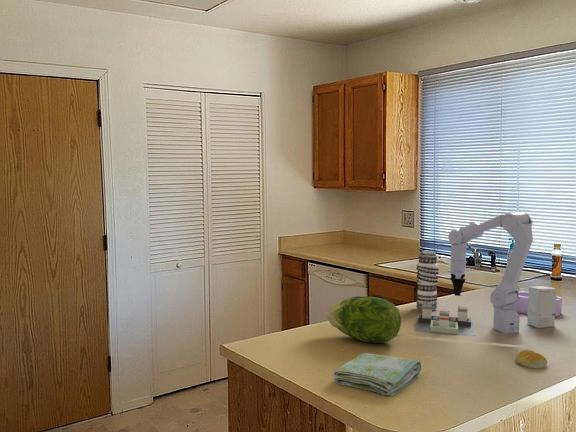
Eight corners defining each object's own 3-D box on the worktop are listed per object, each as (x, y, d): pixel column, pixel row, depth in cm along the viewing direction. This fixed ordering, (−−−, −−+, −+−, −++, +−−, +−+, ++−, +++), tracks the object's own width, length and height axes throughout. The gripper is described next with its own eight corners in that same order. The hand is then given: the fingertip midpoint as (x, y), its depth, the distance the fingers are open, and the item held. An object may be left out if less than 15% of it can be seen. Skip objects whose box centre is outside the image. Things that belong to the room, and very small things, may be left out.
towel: (330, 384, 152) (330, 366, 152) (365, 363, 169) (366, 346, 169) (391, 400, 142) (391, 381, 141) (422, 375, 159) (423, 358, 159)
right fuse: (467, 325, 207) (467, 309, 206) (457, 325, 208) (458, 308, 207) (466, 323, 210) (467, 307, 210) (457, 322, 211) (457, 306, 211)
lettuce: (336, 329, 204) (336, 288, 203) (406, 340, 191) (407, 296, 190) (318, 339, 192) (318, 295, 190) (392, 352, 178) (393, 305, 177)
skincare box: (537, 328, 207) (539, 289, 206) (526, 324, 213) (527, 286, 212) (555, 326, 209) (557, 288, 208) (543, 322, 215) (545, 285, 214)
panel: (474, 338, 194) (475, 330, 194) (413, 333, 200) (414, 326, 200) (472, 324, 212) (472, 317, 212) (416, 319, 218) (417, 313, 218)
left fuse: (431, 323, 211) (431, 307, 210) (422, 322, 212) (422, 306, 211) (431, 320, 214) (431, 305, 213) (422, 320, 215) (422, 304, 214)
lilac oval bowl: (563, 312, 232) (563, 296, 232) (557, 318, 222) (558, 301, 222) (513, 305, 244) (513, 289, 243) (505, 310, 234) (506, 294, 233)
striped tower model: (410, 310, 233) (412, 251, 231) (423, 306, 240) (425, 249, 238) (429, 314, 227) (430, 254, 225) (442, 310, 233) (443, 252, 231)
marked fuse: (448, 330, 200) (449, 313, 200) (438, 329, 201) (439, 313, 201) (448, 328, 204) (449, 311, 203) (439, 327, 205) (439, 310, 204)
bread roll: (531, 358, 174) (532, 346, 174) (551, 368, 165) (552, 355, 165) (508, 360, 172) (509, 347, 172) (527, 370, 163) (528, 357, 163)
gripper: (447, 256, 226) (446, 289, 227) (447, 261, 212) (446, 296, 214) (465, 257, 224) (464, 290, 225) (466, 262, 211) (465, 297, 212)
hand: (457, 293), depth 219 cm, fingers open, 7 cm apart
